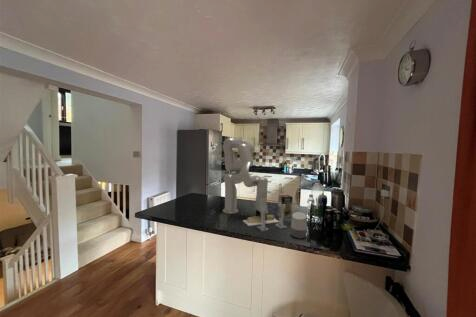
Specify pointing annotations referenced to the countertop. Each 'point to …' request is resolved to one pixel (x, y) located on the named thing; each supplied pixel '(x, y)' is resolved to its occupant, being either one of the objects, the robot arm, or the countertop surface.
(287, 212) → the coffee box
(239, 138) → the robot arm
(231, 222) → the countertop surface
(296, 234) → the smart speaker
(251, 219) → the beech rail
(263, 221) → the metal standards
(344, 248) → the countertop surface
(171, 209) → the countertop surface
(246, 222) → the grey mat
